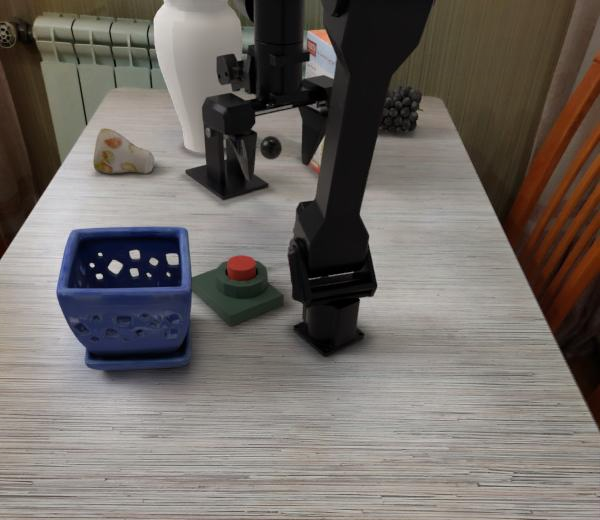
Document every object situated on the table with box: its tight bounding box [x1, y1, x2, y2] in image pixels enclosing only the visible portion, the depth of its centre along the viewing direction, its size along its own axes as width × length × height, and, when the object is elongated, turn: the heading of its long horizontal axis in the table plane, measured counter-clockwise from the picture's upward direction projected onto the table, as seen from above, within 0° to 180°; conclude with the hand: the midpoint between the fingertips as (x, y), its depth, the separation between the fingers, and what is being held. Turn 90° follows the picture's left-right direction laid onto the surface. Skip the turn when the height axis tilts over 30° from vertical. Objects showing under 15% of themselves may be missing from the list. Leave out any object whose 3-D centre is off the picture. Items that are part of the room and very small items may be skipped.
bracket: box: [184, 122, 269, 201], centre depth 99 cm, size 12×9×11 cm
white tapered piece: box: [92, 127, 155, 175], centre depth 102 cm, size 8×10×10 cm
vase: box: [153, 0, 244, 154], centre depth 103 cm, size 15×15×29 cm
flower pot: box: [55, 226, 193, 371], centre depth 67 cm, size 13×13×12 cm
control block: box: [192, 259, 284, 327], centre depth 78 cm, size 10×8×4 cm
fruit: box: [379, 85, 424, 135], centre depth 120 cm, size 9×8×15 cm
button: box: [226, 254, 256, 281], centre depth 76 cm, size 4×4×2 cm
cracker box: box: [301, 28, 336, 175], centre depth 100 cm, size 14×6×21 cm, turn 22°
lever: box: [223, 134, 283, 160], centre depth 92 cm, size 16×3×3 cm, turn 37°
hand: (277, 171), depth 80 cm, fingers open, 9 cm apart
